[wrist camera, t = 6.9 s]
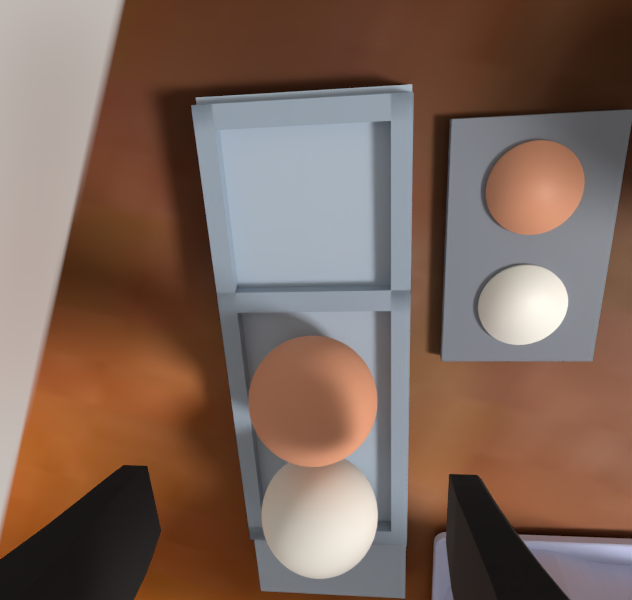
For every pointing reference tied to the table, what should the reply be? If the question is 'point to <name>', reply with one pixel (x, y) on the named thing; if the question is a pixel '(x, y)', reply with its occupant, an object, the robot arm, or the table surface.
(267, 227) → the board
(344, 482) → the cream ball
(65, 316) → the table surface
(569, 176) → the card
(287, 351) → the rust ball
